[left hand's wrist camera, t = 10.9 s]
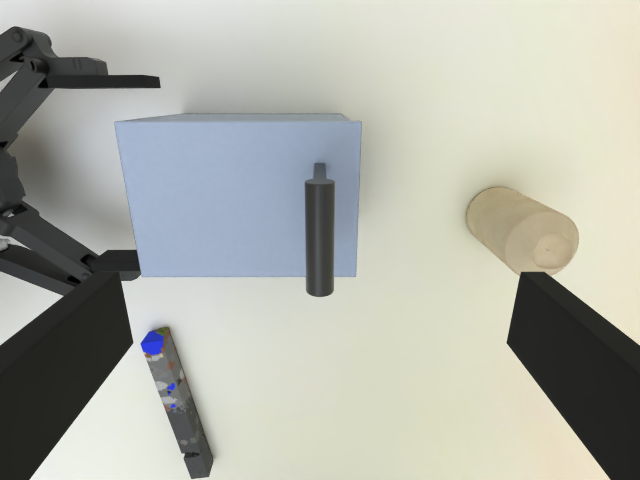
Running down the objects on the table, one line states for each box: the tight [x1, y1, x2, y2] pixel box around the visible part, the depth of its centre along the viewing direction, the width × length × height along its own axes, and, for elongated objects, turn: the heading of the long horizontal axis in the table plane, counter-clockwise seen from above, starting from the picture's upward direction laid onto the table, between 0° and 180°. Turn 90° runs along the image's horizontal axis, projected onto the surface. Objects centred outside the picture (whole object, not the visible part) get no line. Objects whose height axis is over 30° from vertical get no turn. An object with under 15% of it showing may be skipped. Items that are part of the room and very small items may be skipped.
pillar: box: [141, 328, 213, 479], centre depth 44 cm, size 2×2×20 cm
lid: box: [114, 121, 362, 297], centre depth 22 cm, size 15×10×8 cm
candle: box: [466, 187, 579, 276], centre depth 32 cm, size 6×6×10 cm
